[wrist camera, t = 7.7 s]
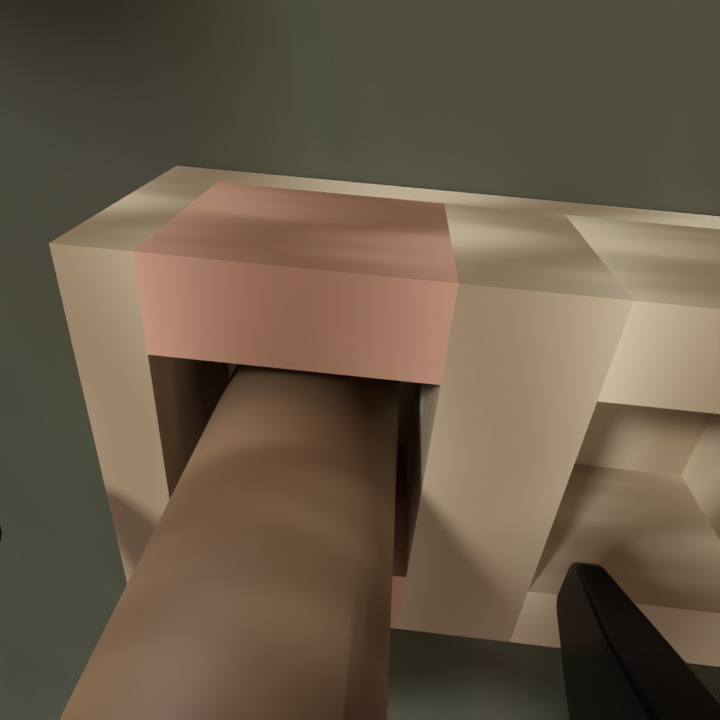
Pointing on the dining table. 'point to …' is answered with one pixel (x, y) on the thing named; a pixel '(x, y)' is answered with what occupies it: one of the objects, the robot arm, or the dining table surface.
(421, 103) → the dining table surface
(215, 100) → the dining table surface
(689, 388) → the bore block
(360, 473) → the dowel
